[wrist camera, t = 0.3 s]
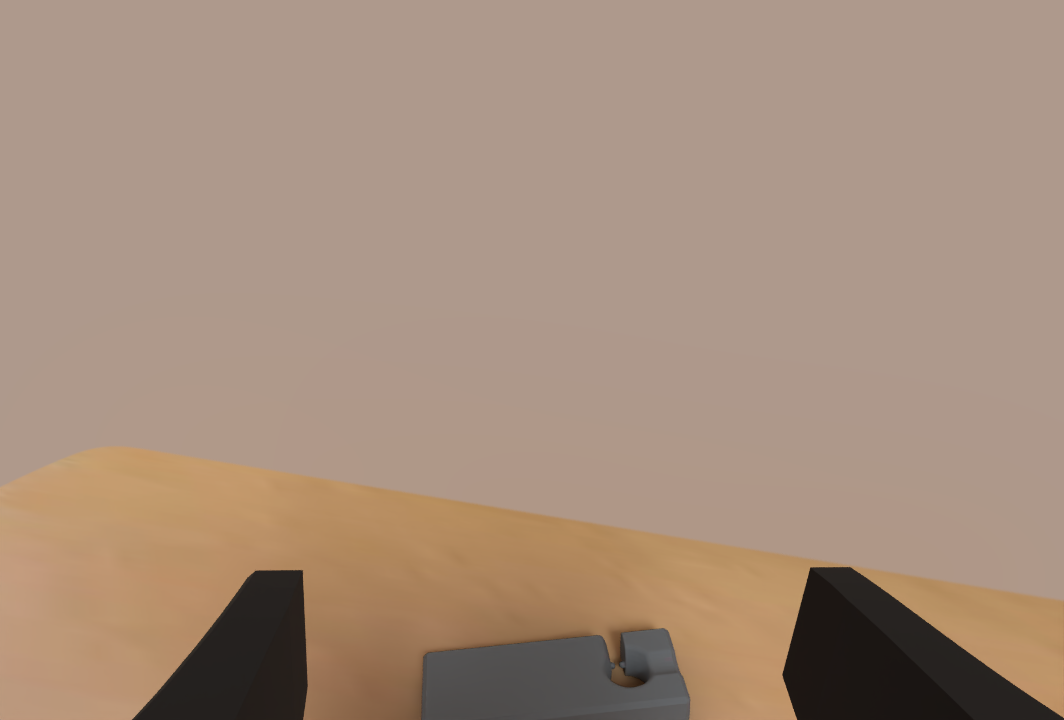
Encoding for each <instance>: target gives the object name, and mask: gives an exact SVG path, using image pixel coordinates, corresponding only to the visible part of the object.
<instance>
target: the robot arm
mask: <svg viewBox="0 0 1064 720" xmlns="http://www.w3.org/2000/svg"><path fill="white" fill-rule="evenodd" d="M782 675H783V679H784V682H785V685H786V688H787V691H788V694H789V697H790V700H791V703H792V706H793V709H794V712H795V715H796V717H797V720H1064V718H1063V717H1061V716H1060V715H1058V714H1057V713H1055V712H1054V711H1052V710H1051V709H1049V708H1048V707H1046V706H1045V705H1043V704H1042V703H1040V702H1039V701H1037V700H1036V699H1034V698H1033V697H1031V696H1030V695H1028V694H1027V693H1025V692H1024V691H1022V690H1021V689H1019V688H1018V687H1016V686H1015V685H1013V684H1012V683H1011V682H1009V681H1008V680H1006V679H1005V678H1003V677H1002V676H1001V675H999V674H998V673H996V672H995V671H993V670H992V669H991V668H989V667H988V666H986V665H985V664H984V663H982V662H981V661H979V660H978V659H977V658H975V657H974V656H972V655H971V654H970V653H968V652H967V651H966V650H964V649H963V648H961V647H960V646H959V645H957V644H956V643H955V642H953V641H952V640H950V639H949V638H948V637H946V636H945V635H944V634H942V633H941V632H940V631H938V630H937V629H936V628H934V627H933V626H931V625H930V624H929V623H927V622H926V621H925V620H923V619H922V618H921V617H919V616H918V615H917V614H915V613H914V612H913V611H911V610H910V609H909V608H907V607H906V606H905V605H903V604H902V603H900V602H899V601H898V600H896V599H895V598H894V597H892V596H891V595H890V594H888V593H887V592H885V591H884V590H883V589H881V588H880V587H878V586H877V585H876V584H874V583H873V582H871V581H870V580H868V579H867V578H866V577H864V576H863V575H861V574H860V573H858V572H857V571H855V570H853V569H852V568H850V567H813V568H810V571H809V575H808V579H807V583H806V587H805V590H804V594H803V598H802V602H801V606H800V609H799V613H798V617H797V621H796V625H795V629H794V632H793V636H792V640H791V644H790V648H789V651H788V655H787V659H786V663H785V667H784V671H783V674H782ZM307 687H308V684H307V661H306V638H305V614H304V591H303V570H279V571H255V572H254V573H253V574H251V575H250V576H249V577H248V578H247V579H246V581H245V582H244V583H243V585H242V586H241V588H240V589H239V591H238V592H237V593H236V595H235V596H234V597H233V599H232V600H231V602H230V603H229V604H228V606H227V607H226V608H225V610H224V611H223V612H222V614H221V615H220V616H219V618H218V619H217V620H216V622H215V623H214V624H213V625H212V627H211V628H210V629H209V630H208V632H207V633H206V634H205V636H204V637H203V638H202V639H201V641H200V642H199V643H198V644H197V646H196V647H195V648H194V649H193V650H192V652H191V653H190V654H189V655H188V656H187V658H186V659H185V660H184V661H183V662H182V664H181V665H180V666H179V667H178V668H177V670H176V671H175V672H174V673H173V674H172V676H171V677H170V678H169V679H168V680H167V682H166V683H165V684H164V685H163V686H162V687H161V689H160V690H159V691H158V692H157V693H156V694H155V695H154V697H153V698H152V699H151V700H150V701H149V702H148V703H147V704H146V705H145V706H144V707H143V709H142V710H141V711H140V712H139V713H138V714H137V715H136V716H135V717H134V718H133V719H132V720H303V717H304V709H305V702H306V694H307Z"/></svg>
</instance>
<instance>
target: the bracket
mask: <svg viewBox="0 0 1064 720" xmlns="http://www.w3.org/2000/svg"><path fill="white" fill-rule="evenodd" d="M620 656H621V660H622V661H621V662H620V663H619V666H620V667H621V668H623V669H624V673H625V675H626V676H633V677H637V678H639V679H640V680H642V681H643V682H644V683H645V684H643V685H641V686H638V687H622V686H619V685H617V684H615V683H613V682H612V681H611V674H612V670H611V669H614V668H615V664H614V663H612V662H610V659H609V654H608V650H607V646H606V643H605V640H604V639H603V637H602V636H600V635H595V636H585V637H576V638H566V639H556V640H547V641H537V642H527V643H518V644H508V645H499V646H489V647H479V648H470V649H460V650H450V651H441V652H431V653H427V654H426V655H425V656H424V657H423V686H422V715H421V720H689V714H690V697H689V694H688V691H687V688H686V685H685V682H684V678H683V676H682V675H681V673H680V671H679V668H678V665H677V661H676V656H675V651H674V648H673V644H672V641H671V638H670V635H669V632H668V631H667V630H666V629H664V628H662V629H652V630H643V631H633V632H624V633H621V641H620Z"/></svg>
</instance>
